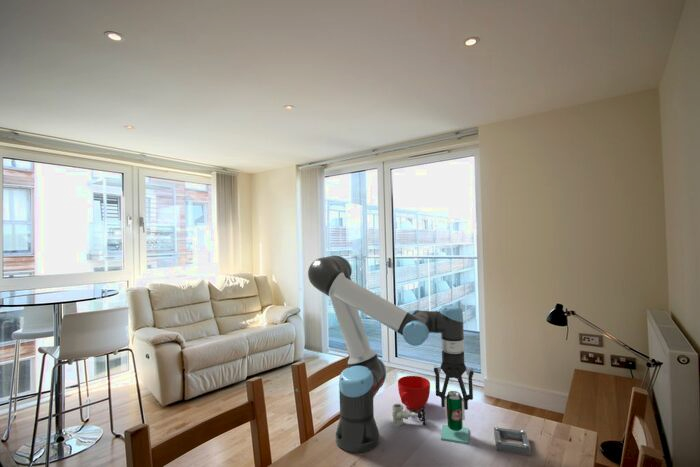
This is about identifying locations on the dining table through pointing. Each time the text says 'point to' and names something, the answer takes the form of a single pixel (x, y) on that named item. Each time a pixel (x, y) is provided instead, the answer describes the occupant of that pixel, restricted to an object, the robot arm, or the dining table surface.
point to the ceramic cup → (414, 391)
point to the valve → (406, 414)
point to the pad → (455, 435)
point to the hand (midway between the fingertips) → (454, 417)
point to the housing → (512, 447)
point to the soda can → (454, 410)
